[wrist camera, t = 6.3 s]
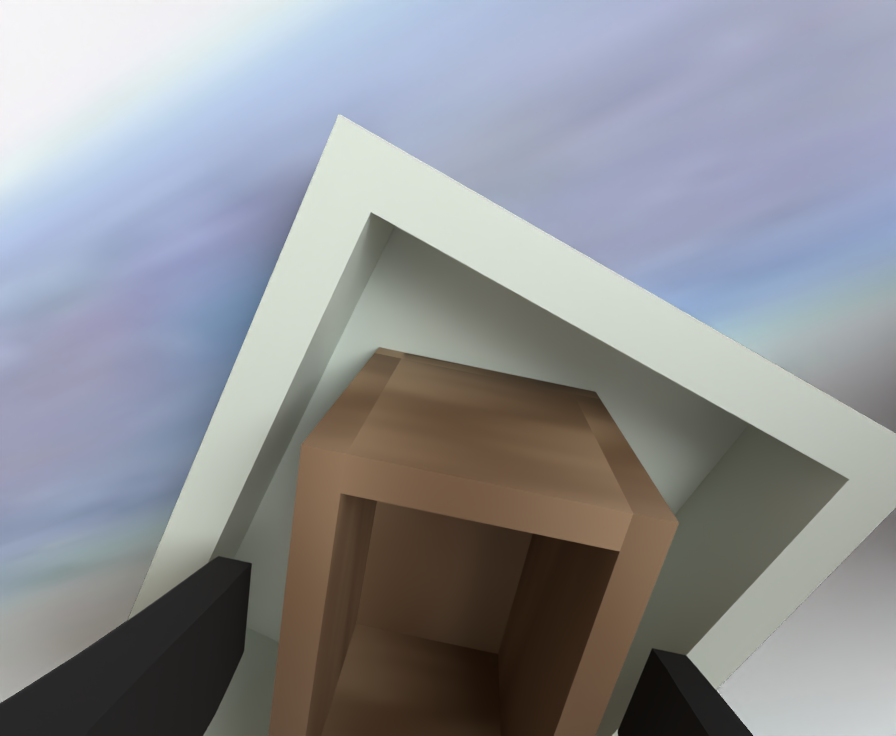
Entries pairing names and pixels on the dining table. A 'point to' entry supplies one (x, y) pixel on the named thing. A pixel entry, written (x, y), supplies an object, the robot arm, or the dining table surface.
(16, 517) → the dining table surface
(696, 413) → the white shallow tray
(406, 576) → the small crate
